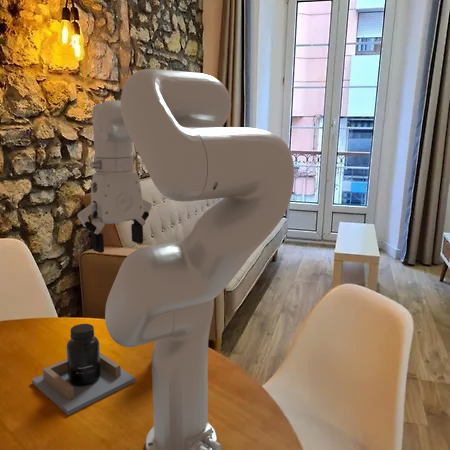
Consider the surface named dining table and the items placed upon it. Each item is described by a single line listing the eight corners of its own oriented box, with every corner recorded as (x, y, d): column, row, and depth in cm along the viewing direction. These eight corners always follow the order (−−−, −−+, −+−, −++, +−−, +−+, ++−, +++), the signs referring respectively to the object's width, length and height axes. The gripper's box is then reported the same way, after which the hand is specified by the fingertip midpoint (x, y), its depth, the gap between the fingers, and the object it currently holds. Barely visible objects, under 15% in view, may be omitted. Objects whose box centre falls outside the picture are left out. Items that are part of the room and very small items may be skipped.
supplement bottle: (83, 390, 92) (79, 338, 89) (61, 381, 95) (57, 330, 93) (107, 375, 98) (104, 325, 95) (86, 366, 101) (83, 318, 98)
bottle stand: (135, 381, 97) (135, 367, 96) (68, 415, 86) (66, 399, 85) (96, 356, 108) (95, 343, 107) (32, 383, 96) (30, 368, 95)
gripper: (85, 170, 80) (91, 259, 84) (159, 164, 93) (161, 242, 97) (65, 167, 85) (72, 251, 89) (138, 162, 98) (141, 236, 102)
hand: (118, 246), depth 93 cm, fingers open, 9 cm apart
